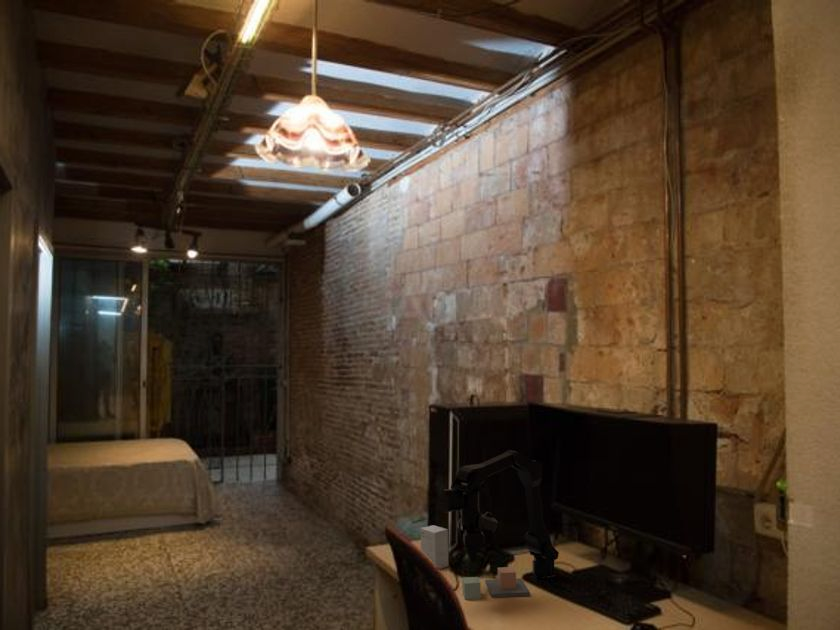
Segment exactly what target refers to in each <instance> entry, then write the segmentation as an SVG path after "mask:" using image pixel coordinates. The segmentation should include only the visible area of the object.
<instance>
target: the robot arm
mask: <svg viewBox="0 0 840 630" xmlns="http://www.w3.org/2000/svg"><path fill="white" fill-rule="evenodd" d="M510 467H512V468H514V469H515V470H516V472H517V475H518V476H517V477H518V479H519V480H520V482H521V484H522V485H523V487H524V494H525V501H526V510H527V516H528V525H529V529H528V531H527V532H526V533H524V536H523V537H524V543H525V544H524V545H525V546H526V548H527V550H528V551H529V554H530V556H533V560H532V562H531V563H532V574H533V575H534V576H535V578H536V577H537V578H542V577H544V576H545V577H546V576H551V575H554V574H555V575H556V573H555V561H556V560H558V558H559V555H560V553H559V551H558V550H557V549H556V548H555V547H554V546H553V543H552V539H551V535H550V534H549V532H548V531H547V528H546V527H545V521H544V513H543V512H544V511H543V505H542V499H541V498H542V497H541V496H542V495H541V490H540V485H541V482H542V480H543V466H542V463H541V462H540V461H538V460H534V459H531V458H529V457H527V456H526V455H523V454H522V453H520V452H519V451H514V450H511V449H510V450H506V451H505V452H504V453H502V454H499V455H497V456H495V457H492V458H490V459H487V460H486V461H484V462H481V463H476V464H468V465H464V466H461V467H460V468H459V469H458V472H457V474H456V476H455V478H454V480H453V482H452V484H451V486H450V488H449V489H446V488H445V489H441V490H442V491H441V494H440V495H439V496H438V497H439V498H438V500H437V501H438V502H437V503H438V504H437V505H438V508H439V509H440V511H441V512H442V513H444V514H446V513H451V512H457V511H459V513H460V518H459V519H458V520H457V521H456V522H457V523H456V525H457V528H458V529H457V530H458V532H459V535H460V538H461V541H462V543H463V546H464V548H465V550H466V553H467V555H468V557H469V560H470V562H471V564H476V560H477V556H478V551H479V549H480V547H481V546H483V545H484V543H486V536H485V534H484V533H483V531H481V530H482V529H485V530H488V531H491V532H493V533H496V530H497V527H498V524H499V521H498V520H497V519H496V518H495V517H493V514H492V513H491V512H489V511H486V512H485V513H484V514H483V513H481V511H480V493H484V492H485V489H484V488H483V487H482V486H481V485H482V484H483V483H485V482H486V480H487V479H488V477H490V476H492V475H494V474H496V473H499V472H501V471H502V470H503V471H504V470H505V469H507V468H510ZM537 578H536V579H537Z"/></svg>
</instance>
